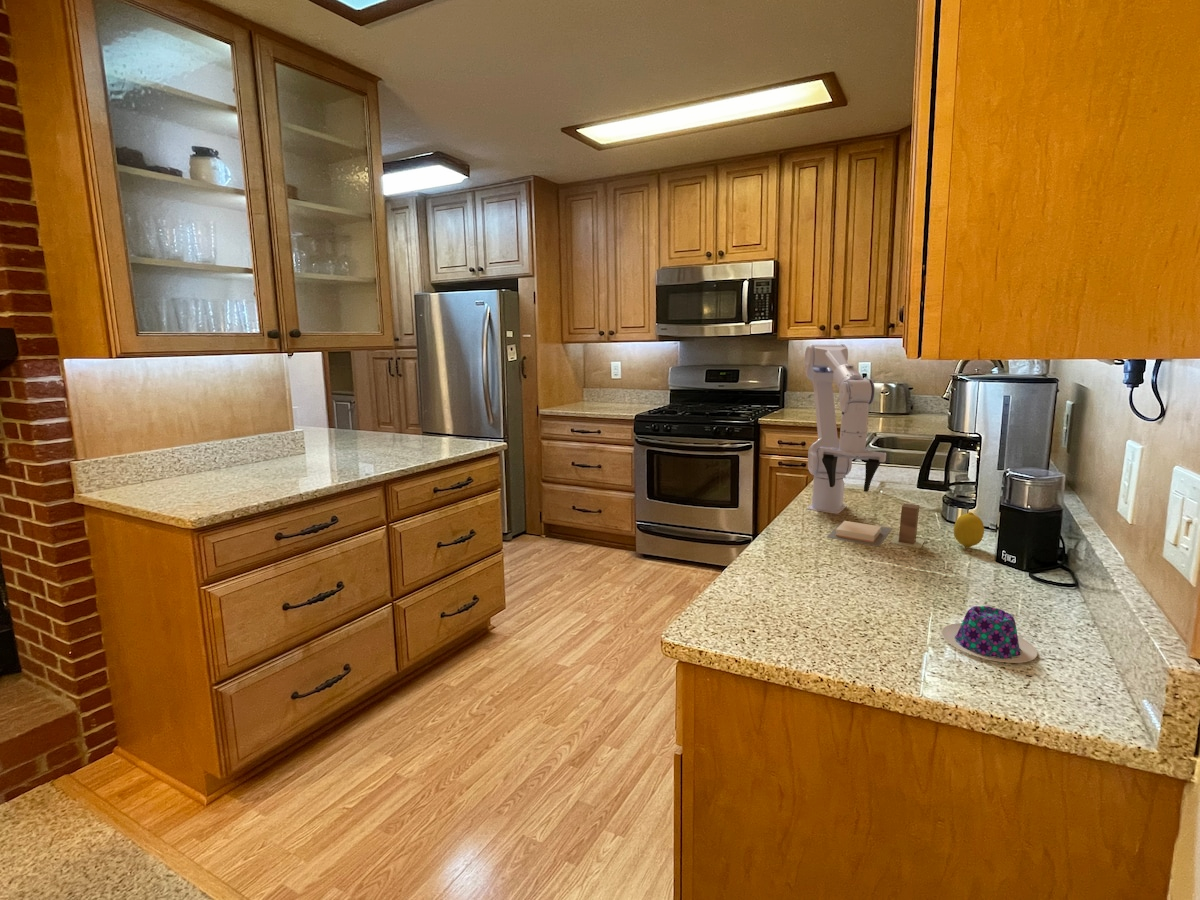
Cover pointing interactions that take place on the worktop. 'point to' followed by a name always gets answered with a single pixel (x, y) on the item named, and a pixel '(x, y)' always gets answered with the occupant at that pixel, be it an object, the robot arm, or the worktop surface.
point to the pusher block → (908, 523)
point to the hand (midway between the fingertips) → (848, 488)
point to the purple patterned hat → (989, 636)
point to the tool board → (917, 543)
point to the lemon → (968, 530)
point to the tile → (858, 531)
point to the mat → (877, 542)
